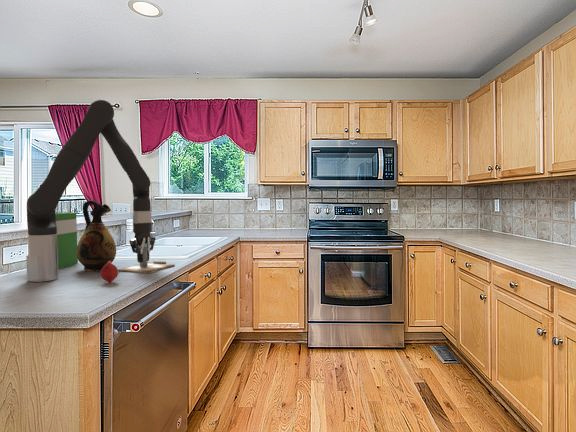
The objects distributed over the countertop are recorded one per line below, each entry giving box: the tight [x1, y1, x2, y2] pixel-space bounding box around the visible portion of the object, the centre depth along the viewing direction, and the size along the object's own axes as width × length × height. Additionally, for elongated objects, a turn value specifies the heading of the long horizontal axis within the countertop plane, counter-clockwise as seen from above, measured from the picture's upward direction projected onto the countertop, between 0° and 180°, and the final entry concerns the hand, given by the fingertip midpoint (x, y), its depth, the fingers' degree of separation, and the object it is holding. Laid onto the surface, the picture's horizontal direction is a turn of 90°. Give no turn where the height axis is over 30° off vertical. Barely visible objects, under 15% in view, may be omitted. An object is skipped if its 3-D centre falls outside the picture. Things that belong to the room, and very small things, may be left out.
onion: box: [100, 261, 119, 284], centre depth 140 cm, size 6×6×8 cm
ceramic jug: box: [77, 199, 117, 272], centre depth 165 cm, size 17×15×30 cm
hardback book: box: [56, 212, 79, 270], centre depth 172 cm, size 18×7×24 cm, turn 178°
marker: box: [139, 243, 149, 267], centre depth 164 cm, size 3×3×10 cm
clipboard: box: [117, 260, 176, 274], centre depth 167 cm, size 18×15×2 cm
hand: (143, 261), depth 164 cm, fingers closed on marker, 3 cm apart
